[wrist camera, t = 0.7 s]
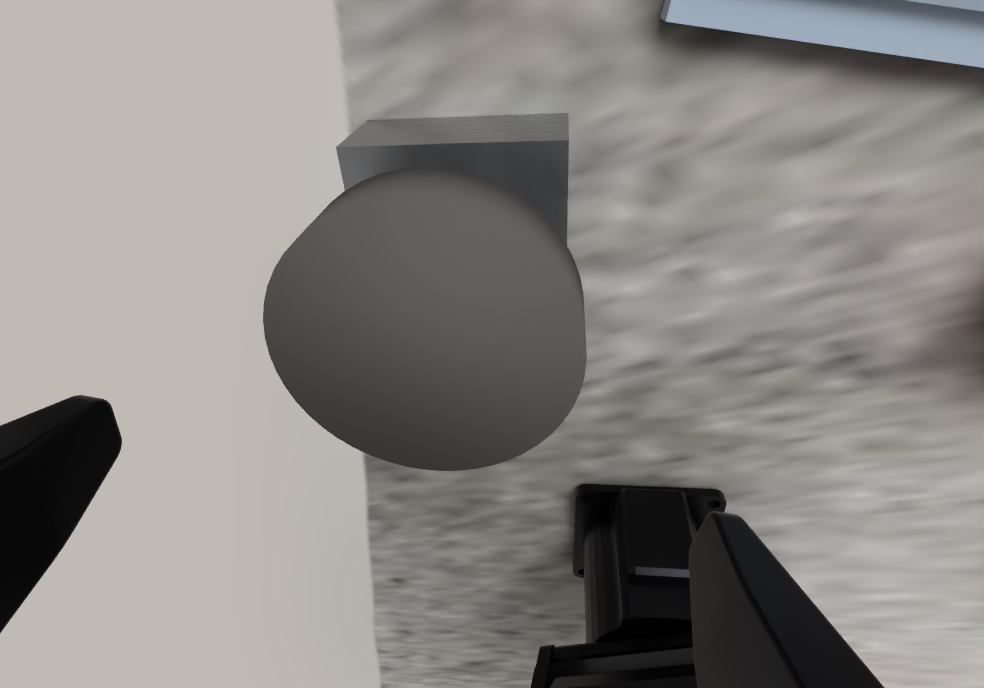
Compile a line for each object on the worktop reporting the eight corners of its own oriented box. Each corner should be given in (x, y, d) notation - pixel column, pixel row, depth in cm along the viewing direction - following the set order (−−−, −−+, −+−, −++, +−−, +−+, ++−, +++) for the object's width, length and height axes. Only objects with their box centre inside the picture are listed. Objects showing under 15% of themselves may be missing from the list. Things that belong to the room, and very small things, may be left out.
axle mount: (564, 294, 20) (564, 341, 18) (397, 294, 21) (375, 338, 19) (568, 113, 17) (568, 140, 14) (367, 120, 18) (336, 147, 15)
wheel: (577, 356, 18) (581, 476, 14) (363, 353, 19) (307, 465, 15) (585, 125, 14) (594, 197, 10) (314, 135, 15) (218, 203, 11)
